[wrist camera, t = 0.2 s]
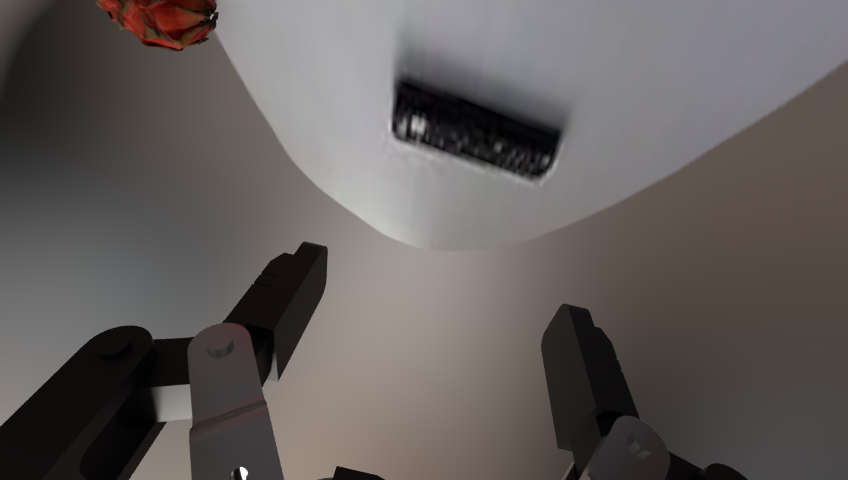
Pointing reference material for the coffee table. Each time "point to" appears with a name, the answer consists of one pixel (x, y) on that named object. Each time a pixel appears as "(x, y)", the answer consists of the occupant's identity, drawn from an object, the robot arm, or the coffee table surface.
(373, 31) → the coffee table surface
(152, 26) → the dragon fruit
